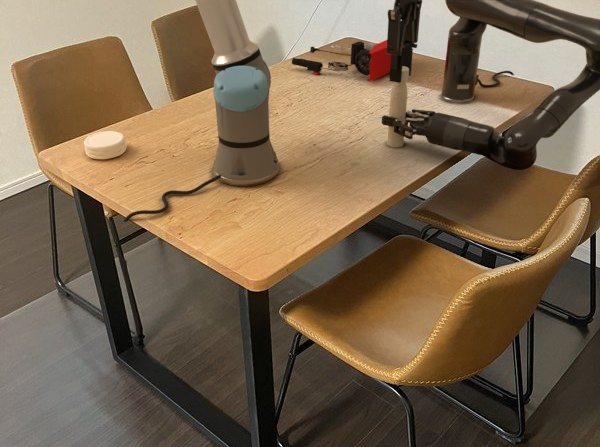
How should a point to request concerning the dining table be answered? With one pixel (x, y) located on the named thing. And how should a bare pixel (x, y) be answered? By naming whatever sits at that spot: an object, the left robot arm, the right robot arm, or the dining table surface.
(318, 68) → the electric hoist
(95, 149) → the white round disc
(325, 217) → the dining table surface
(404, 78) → the cap
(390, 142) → the bottle
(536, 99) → the dining table surface
